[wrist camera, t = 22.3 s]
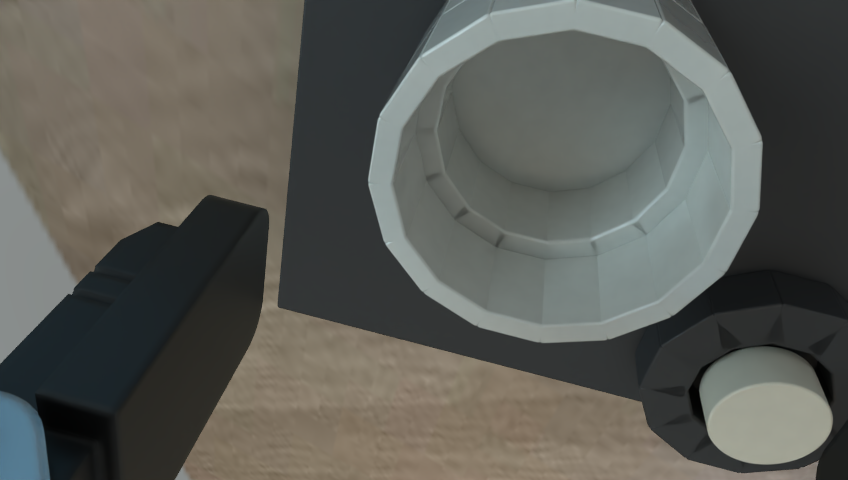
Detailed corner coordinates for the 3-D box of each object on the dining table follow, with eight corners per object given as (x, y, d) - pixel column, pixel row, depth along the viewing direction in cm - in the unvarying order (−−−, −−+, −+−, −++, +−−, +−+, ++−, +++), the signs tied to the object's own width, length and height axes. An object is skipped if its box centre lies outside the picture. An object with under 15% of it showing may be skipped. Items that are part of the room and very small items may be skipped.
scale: (298, 275, 23) (259, 348, 20) (355, -261, 15) (303, -270, 12) (788, 402, 22) (821, 495, 19) (1129, -84, 14) (1274, -48, 11)
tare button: (681, 408, 19) (689, 448, 18) (726, 332, 17) (736, 370, 16) (785, 436, 19) (798, 477, 18) (838, 361, 17) (857, 401, 16)
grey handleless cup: (399, 174, 18) (348, 295, 14) (451, -96, 14) (402, -43, 10) (646, 236, 17) (670, 378, 13) (761, -22, 14) (843, 61, 10)
